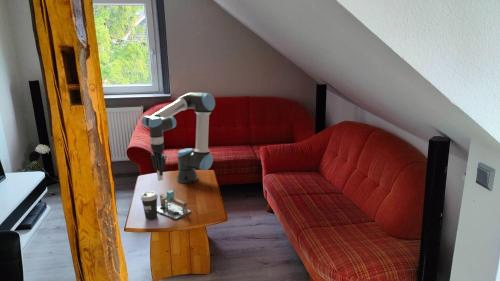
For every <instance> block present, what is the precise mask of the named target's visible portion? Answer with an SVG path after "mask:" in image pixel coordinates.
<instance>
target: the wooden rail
mask: <svg viewBox="0 0 500 281" xmlns="http://www.w3.org/2000/svg"><path fill="white" fill-rule="evenodd" d="M166 196H167V194H166V193H161V194H159V198H160V199H159V200H160V205H162V208H164V204H165V201H167V197H166ZM171 203H172V204H175V205H177V206H180V207H182V209H183V214H186V213H188V210H189V209H188V202H187V201H182V200H180V199H177V198H175V197H174V198H172V199H171ZM187 209H188V210H187Z"/></svg>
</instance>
